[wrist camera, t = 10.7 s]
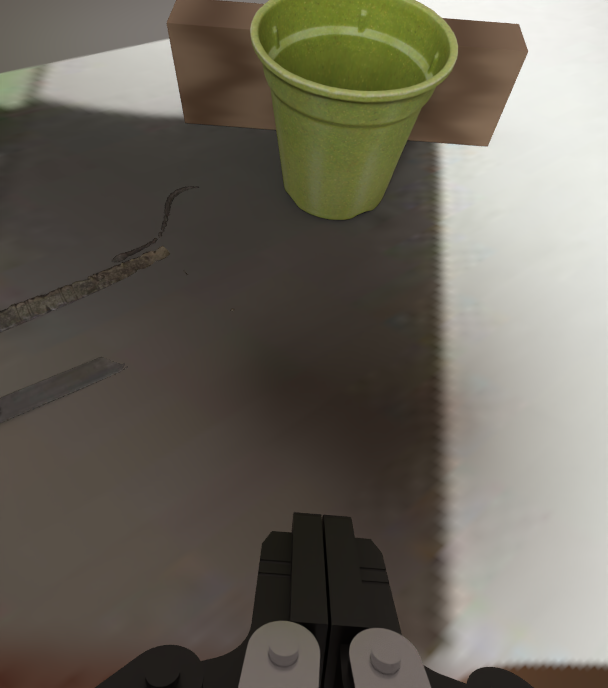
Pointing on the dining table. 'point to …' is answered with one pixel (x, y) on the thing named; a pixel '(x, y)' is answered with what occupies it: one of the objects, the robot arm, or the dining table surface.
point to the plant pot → (348, 92)
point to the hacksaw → (60, 297)
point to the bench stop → (255, 94)
